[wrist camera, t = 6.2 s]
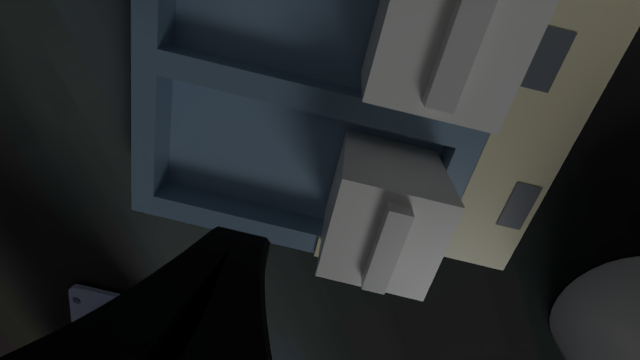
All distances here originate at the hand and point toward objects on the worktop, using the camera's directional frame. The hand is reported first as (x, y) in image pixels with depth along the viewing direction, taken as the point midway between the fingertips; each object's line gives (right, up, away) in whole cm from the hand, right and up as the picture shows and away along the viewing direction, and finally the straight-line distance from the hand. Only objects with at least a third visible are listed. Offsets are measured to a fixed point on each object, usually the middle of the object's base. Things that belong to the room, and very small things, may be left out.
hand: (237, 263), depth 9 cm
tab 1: (+6, +8, +5) cm, 11 cm away
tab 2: (+5, +2, +8) cm, 9 cm away
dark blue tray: (+4, +6, +7) cm, 10 cm away
